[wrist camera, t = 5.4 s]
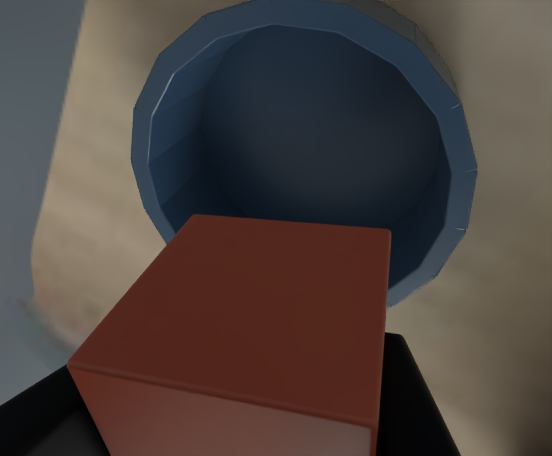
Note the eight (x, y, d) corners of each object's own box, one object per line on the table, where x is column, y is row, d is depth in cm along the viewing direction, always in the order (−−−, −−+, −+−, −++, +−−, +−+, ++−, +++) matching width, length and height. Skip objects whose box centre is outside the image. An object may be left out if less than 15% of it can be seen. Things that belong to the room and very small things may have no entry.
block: (392, 227, 8) (377, 425, 4) (378, 372, 10) (363, 580, 6) (192, 212, 9) (62, 363, 5) (220, 346, 11) (137, 514, 8)
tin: (523, 45, 14) (569, 78, 10) (386, 284, 21) (380, 361, 17) (215, -57, 15) (142, -64, 11) (178, 203, 22) (124, 258, 18)
